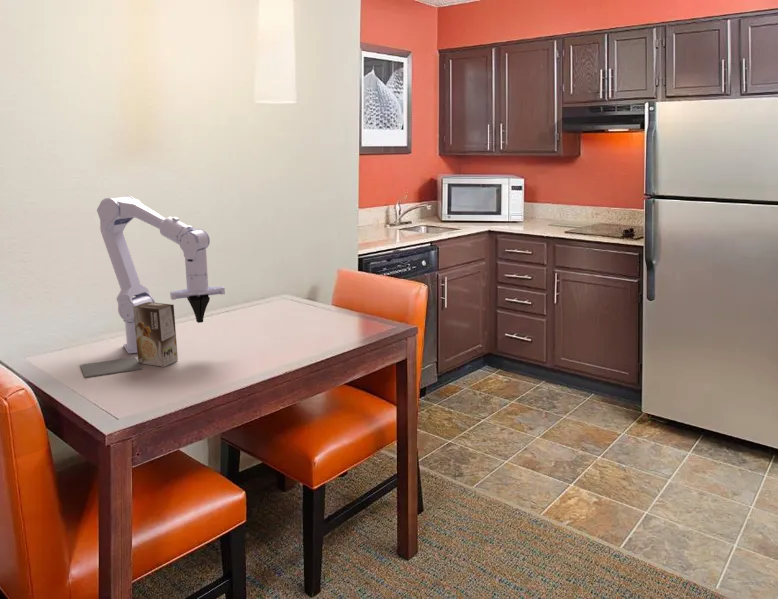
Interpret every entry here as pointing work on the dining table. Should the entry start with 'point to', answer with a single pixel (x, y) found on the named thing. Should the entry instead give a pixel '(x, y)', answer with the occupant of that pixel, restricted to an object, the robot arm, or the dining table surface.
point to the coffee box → (155, 334)
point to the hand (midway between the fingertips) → (199, 321)
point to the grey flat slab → (110, 367)
